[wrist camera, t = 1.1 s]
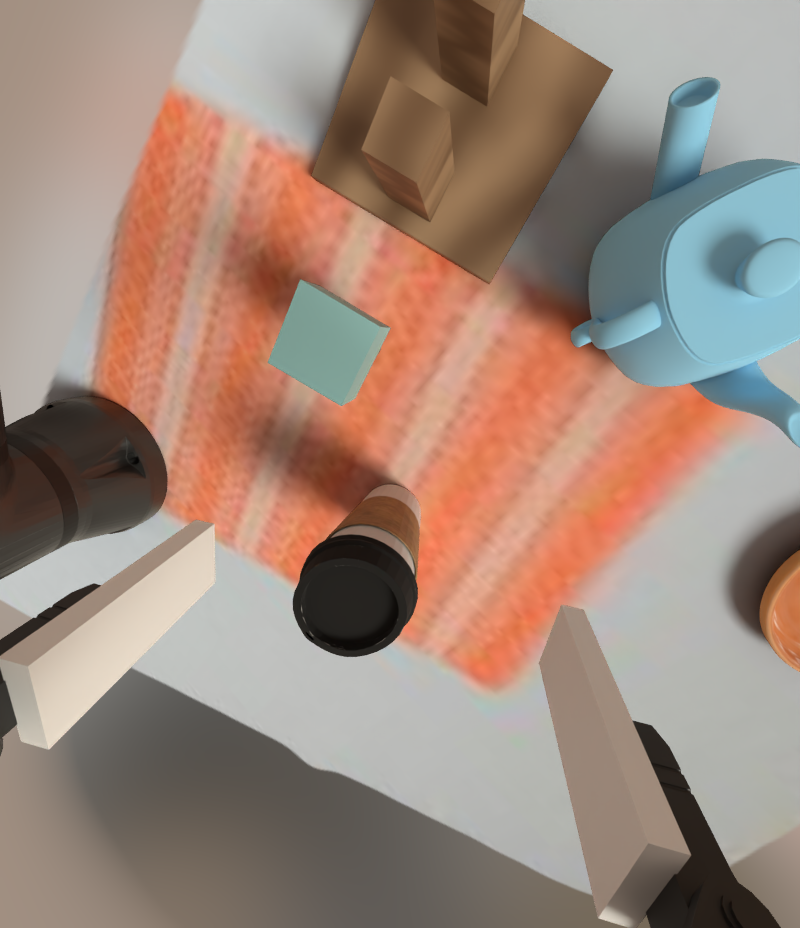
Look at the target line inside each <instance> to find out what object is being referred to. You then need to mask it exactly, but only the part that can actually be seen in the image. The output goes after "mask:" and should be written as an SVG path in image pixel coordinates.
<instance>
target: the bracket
mask: <svg viewBox="0 0 800 928" xmlns="http://www.w3.org/2000/svg"><path fill="white" fill-rule="evenodd" d="M524 3H525V0H375V3H374V5H373V8H372V11H371V14H370V16H369V19H368V22H367V24H366V27H365V30H364V33H363V35H362V38H361V41H360V44H359V46H358V49H357V52H356V55H355V57H354V60H353V63H352V66H351V68H350V71H349V74H348V76H347V79H346V82H345V85H344V87H343V90H342V93H341V96H340V98H339V101H338V104H337V107H336V109H335V112H334V115H333V118H332V120H331V123H330V126H329V129H328V131H327V134H326V137H325V139H324V142H323V145H322V148H321V150H320V153H319V156H318V159H317V161H316V164H315V167H314V170H313V172H312V175H311V176H312V177H313V178H314V179H315V180H316V181H318V182H320V183H321V184H323V185H325V186H326V187H328V188H330V189H331V190H333V191H335V192H336V193H338V194H340V195H341V196H343V197H345V198H346V199H348V200H350V201H351V202H353V203H355V204H356V205H358V206H360V207H361V208H363V209H365V210H366V211H368V212H369V213H371V214H373V215H374V216H376V217H378V218H379V219H381V220H383V221H384V222H386V223H388V224H389V225H391V226H393V227H394V228H396V229H398V230H399V231H401V232H403V233H404V234H406V235H408V236H409V237H411V238H413V239H414V240H416V241H418V242H419V243H421V244H423V245H424V246H426V247H428V248H429V249H431V250H433V251H434V252H436V253H438V254H439V255H441V256H443V257H444V258H446V259H448V260H449V261H451V262H453V263H454V264H456V265H458V266H459V267H461V268H463V269H464V270H466V271H468V272H469V273H471V274H473V275H474V276H476V277H478V278H479V279H481V280H483V281H484V282H486V283H488V284H490V282H491V280H492V279H493V277H494V275H495V274H496V272H497V270H498V268H499V267H500V265H501V263H502V261H503V260H504V258H505V256H506V255H507V253H508V251H509V249H510V248H511V246H512V244H513V242H514V241H515V239H516V237H517V236H518V234H519V232H520V230H521V229H522V227H523V225H524V224H525V222H526V220H527V218H528V217H529V215H530V213H531V211H532V210H533V208H534V206H535V205H536V203H537V201H538V199H539V198H540V196H541V194H542V192H543V191H544V189H545V187H546V186H547V184H548V182H549V180H550V179H551V177H552V175H553V173H554V172H555V170H556V168H557V167H558V165H559V163H560V161H561V160H562V158H563V156H564V155H565V153H566V151H567V149H568V148H569V146H570V144H571V142H572V141H573V139H574V137H575V136H576V134H577V132H578V130H579V129H580V127H581V125H582V123H583V122H584V120H585V118H586V117H587V115H588V113H589V111H590V110H591V108H592V106H593V104H594V103H595V101H596V99H597V98H598V96H599V94H600V92H601V91H602V89H603V87H604V85H605V84H606V82H607V80H608V79H609V77H610V75H611V73H612V71H613V70H612V69H611V68H609V67H607V66H606V65H604V64H602V63H601V62H599V61H598V60H596V59H594V58H593V57H591V56H589V55H588V54H586V53H585V52H583V51H581V50H580V49H578V48H576V47H575V46H573V45H572V44H570V43H568V42H567V41H565V40H563V39H562V38H560V37H559V36H557V35H555V34H554V33H552V32H550V31H549V30H547V29H546V28H544V27H542V26H541V25H539V24H537V23H536V22H534V21H533V20H531V19H529V18H528V17H526V16H524V15H523V9H524Z"/></svg>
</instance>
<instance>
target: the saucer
mask: <svg viewBox="0 0 800 928" xmlns="http://www.w3.org/2000/svg"><path fill="white" fill-rule="evenodd" d="M760 624H761V628H762V631H763V633H764V636H765V638H766V639H767V641H768V642H769V644H770V645H771V647H772V648H773V650H774V651H775V653H776V654H777V655H778V656H779V657H780V658H781V659H782V660H783V661H784V662H785V663H787V664H788V665H789V666H791V667H792V668H794V669H795V670H797V671H799V672H800V550H798V551H797V552H796V553H794V554H793V555H792V556H791V557H789V558H788V559H787V560H786V561H785V562H784V563H783V564H782V565H781V566H780V567H779V568H778V569H777V571H776V572H775V573H774V575H773V576H772V578H771V579H770V581H769V583H768V585H767V587H766V589H765V591H764V594H763V597H762V600H761V604H760Z"/></svg>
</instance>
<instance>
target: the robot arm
mask: <svg viewBox="0 0 800 928" xmlns="http://www.w3.org/2000/svg"><path fill="white" fill-rule="evenodd" d="M166 492H167V472H166V467H165V463H164V460H163V457H162V454H161V452H160V450H159V447H158V446H157V444H156V442H155V440H154V439H153V437H152V436H151V434H150V433H149V432H148V430H147V429H146V428H145V427H144V426H143V424H142V423H141V422H140V421H139V420H138V419H137V418H135V417H134V416H133V415H132V414H131V413H129V412H128V411H127V410H125V409H124V408H122V407H121V406H119V405H117V404H115V403H113V402H111V401H108V400H105V399H102V398H98V397H91V396H82V397H75V398H69V399H63V400H58V401H55V402H52V403H49V404H47V405H45V406H43V407H41V408H40V409H38V410H37V411H36V412H35V413H34V414H31V415H28V416H26V417H24V418H21V419H19V420H17V421H16V422H14V423H12V424H10V425H8V426H6V427H5V422H4V415H3V407H2V400H1V392H0V579H2V578H4V577H6V576H8V575H10V574H12V573H14V572H15V571H17V570H19V569H21V568H23V567H25V566H27V565H28V564H30V563H32V562H34V561H36V560H38V559H40V558H41V557H43V556H45V555H47V554H49V553H51V552H53V551H55V550H57V549H59V548H61V547H62V546H64V545H66V544H68V543H71V542H75V541H79V540H84V539H88V538H92V537H96V536H100V535H104V534H113V533H119V532H123V531H126V530H129V529H132V528H134V527H135V526H137V525H139V524H141V523H143V522H144V521H146V520H148V519H149V518H151V517H152V516H153V515H155V514H156V513H157V512H158V510H159V509H160V507H161V506H162V504H163V502H164V499H165V496H166ZM214 583H215V531H214V524H213V523H208V522H204V521H200V520H195V521H193V522H192V523H190V524H189V525H188V526H186V527H185V528H183V529H182V530H180V531H179V532H177V533H176V534H175V535H173V536H172V537H170V538H169V539H167V540H166V541H165V542H163V543H162V544H160V545H159V546H157V547H156V548H154V549H153V550H152V551H150V552H149V553H147V554H146V555H144V556H143V557H142V558H140V559H139V560H137V561H136V562H134V563H133V564H131V565H130V566H129V567H127V568H126V569H124V570H123V571H121V572H120V573H119V574H117V575H116V576H114V577H113V578H111V579H110V580H108V581H107V582H106V583H104V584H103V585H97V584H91V585H89V586H86V587H84V588H82V589H79V590H77V591H74V592H72V593H70V594H69V595H67V596H66V597H64V598H63V599H61V600H60V601H58V602H57V603H55V604H54V605H53V607H52V608H50V607H49V608H48V609H46V610H45V611H43V612H42V613H40V614H39V615H38V616H37V617H36V618H32V619H31V620H29V621H28V622H26V623H25V624H23V625H22V626H20V627H19V628H17V629H16V630H14V631H13V632H11V633H10V634H8V635H7V636H5V637H4V638H2V639H1V640H0V755H1V752H2V749H3V739H2V737H3V736H4V735H5V734H7V733H8V732H9V731H10V730H11V729H12V728H13V727H15V726H16V725H17V729H18V732H19V735H20V739H21V741H22V742H25V743H28V744H31V745H35V746H38V747H41V748H45V749H48V750H49V749H50V748H51V747H52V746H53V745H54V744H55V743H56V742H57V741H58V740H59V739H60V738H61V737H62V736H63V735H64V734H65V733H66V732H67V731H68V730H69V729H70V728H71V727H72V726H73V725H74V724H75V723H76V722H77V721H78V720H79V719H80V718H81V717H82V716H83V715H84V714H85V713H86V712H87V711H88V710H89V709H90V708H91V707H92V706H93V705H94V704H95V703H96V702H97V701H98V700H99V699H100V698H101V697H102V696H103V695H104V694H105V693H106V692H107V691H108V690H109V689H110V688H111V686H113V685H114V684H115V682H117V681H118V680H119V679H120V678H121V677H122V676H123V675H124V674H125V673H126V672H127V671H128V670H129V669H130V668H131V667H132V666H133V665H134V664H135V663H136V662H137V661H138V660H139V659H140V658H141V657H142V656H143V655H144V654H145V653H146V652H147V651H148V650H149V649H150V648H151V647H152V646H153V645H154V644H155V643H156V642H157V641H158V640H159V639H160V638H161V637H162V635H163V634H164V633H165V632H166V631H167V630H168V629H169V628H170V627H171V626H172V625H173V624H174V623H175V622H176V621H177V620H178V619H179V618H180V617H181V616H182V615H183V614H184V613H185V612H186V611H187V610H188V609H189V608H190V607H191V606H192V605H193V604H194V603H195V602H196V601H197V600H198V599H199V598H200V597H201V596H202V595H203V594H204V593H205V592H206V591H207V590H208V589H209V588H210V587H211V586H212V585H213V584H214ZM539 665H540V669H541V673H542V678H543V682H544V686H545V691H546V695H547V699H548V704H549V708H550V712H551V717H552V721H553V725H554V730H555V734H556V738H557V742H558V747H559V751H560V755H561V760H562V764H563V768H564V773H565V777H566V781H567V786H568V790H569V794H570V799H571V803H572V807H573V812H574V816H575V820H576V825H577V829H578V833H579V838H580V842H581V846H582V850H583V855H584V859H585V863H586V868H587V872H588V876H589V881H590V885H591V889H592V894H593V898H594V902H595V907H596V910H597V915H598V918H599V919H603V920H606V921H609V922H612V923H616V924H619V925H622V926H625V927H629V928H637V927H638V925H639V924H640V923H641V922H642V920H643V919H644V918H645V916H646V915H647V918H648V920H649V924H650V927H651V928H781V927H780V926H779V924H778V923H777V922H776V920H775V919H774V917H773V916H772V914H771V913H770V912H769V910H768V909H767V908H766V907H765V906H764V905H763V904H762V903H761V902H760V901H759V900H758V899H757V898H756V897H755V896H754V894H753V893H752V892H750V891H749V890H748V889H746V888H745V887H743V886H742V885H741V884H739V883H738V882H737V880H736V878H735V877H734V875H733V873H732V871H731V869H730V867H729V865H728V863H727V861H726V859H725V857H724V855H723V853H722V851H721V849H720V847H719V845H718V843H717V841H716V839H715V837H714V835H713V833H712V831H711V829H710V827H709V825H708V823H707V821H706V819H705V817H704V815H703V813H702V811H701V809H700V807H699V805H698V803H697V801H696V799H695V797H694V795H692V794H691V789H690V787H689V785H688V783H687V781H686V779H685V777H684V775H682V774H681V769H680V767H679V765H678V763H677V761H676V759H675V757H674V755H673V753H672V751H671V749H670V747H669V746H668V745H667V744H666V742H665V741H664V740H663V739H662V737H661V736H660V735H659V734H658V733H657V731H656V730H655V729H654V728H653V726H651V725H648V724H644V723H640V722H636V721H632V719H631V717H630V714H629V712H628V710H627V707H626V705H625V703H624V701H623V698H622V696H621V694H620V692H619V689H618V687H617V685H616V682H615V680H614V678H613V676H612V673H611V671H610V669H609V666H608V664H607V662H606V660H605V657H604V655H603V653H602V650H601V648H600V646H599V644H598V641H597V639H596V637H595V634H594V632H593V630H592V628H591V625H590V623H589V621H588V618H587V616H586V614H585V612H584V610H583V609H578V608H574V607H570V606H565V605H561V607H560V610H559V612H558V615H557V617H556V620H555V623H554V625H553V628H552V630H551V633H550V636H549V638H548V641H547V643H546V646H545V649H544V651H543V654H542V656H541V659H540V662H539Z"/></svg>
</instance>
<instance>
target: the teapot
mask: <svg viewBox="0 0 800 928" xmlns="http://www.w3.org/2000/svg"><path fill="white" fill-rule="evenodd" d="M719 89H720V82H719V81H718V80H717V79H715V78H710V77H703V78H697V79H693V80H691V81H688V82H686V83H684V84H682V85H680V86H679V87H677V88H676V89H675V90H674V91H673V92H672V93H671V95H670V97H669V101H668V107H667V112H666V117H665V123H664V128H663V134H662V139H661V144H660V150H659V155H658V161H657V166H656V171H655V177H654V182H653V188H652V193H651V198H650V200H649V201H648V202H646V203H645V204H643V205H642V206H640V207H639V208H637V209H635V210H634V211H632V212H631V213H629V214H628V215H627V216H625V217H624V218H623V219H621V220H620V221H619V222H617V223H616V224H615V225H613V226H612V227H611V228H610V230H609V231H608V232H607V233H606V234H605V235H604V236H603V238H602V239H601V241H600V242H599V243H598V245H597V248H596V250H595V252H594V254H593V258H592V262H591V265H590V272H589V306H590V312H591V317H592V319H591V320H588V321H586V322H584V323H582V324H581V325H579V326H577V327H576V328H574V329H573V330H572V332H571V341H572V343H573V344H574V346H576V347H581V346H583V345H585V344H587V343H590V342H592V343H593V344H594V346H595V347H597V348H599V349H604V350H605V352H606V353H607V355H608V356H609V358H610V359H611V360H612V362H613V363H614V364H615V365H616V367H617V368H618V369H619V370H620V371H621V372H622V373H623V374H624V375H625V376H627V377H628V378H630V379H631V380H633V381H635V382H637V383H640V384H643V385H648V386H655V387H665V386H679V385H683V384H688V383H690V384H691V385H692V386H693V387H694V388H695V389H696V390H697V391H698V392H700V393H701V394H702V395H703V396H704V397H705V398H707V399H708V400H710V401H712V402H713V403H715V404H717V405H720V406H723V407H726V408H730V409H734V410H738V411H743V412H747V413H751V414H755V415H758V416H761V417H763V418H765V419H767V420H769V421H771V422H772V423H774V424H775V425H776V426H778V427H779V428H780V429H781V430H782V431H783V432H784V433H785V434H786V435H787V436H788V438H789V439H790V440H791V441H792V442H793V443H794V444H795V445H797V446H798V447H800V404H799V403H797V402H796V401H795V400H794V399H793V398H791V397H790V396H789V395H787V394H786V393H785V392H783V391H782V390H780V389H779V388H777V387H776V386H775V385H774V384H772V383H771V382H770V381H769V380H768V378H767V377H766V376H765V375H764V373H763V372H762V370H761V369H760V367H759V366H758V363H757V361H758V360H760V359H762V358H764V357H766V356H768V355H770V354H772V353H774V352H776V351H778V350H780V349H782V348H784V347H786V346H787V345H789V344H791V343H793V342H795V341H797V340H799V339H800V164H798V163H794V162H789V161H783V160H774V159H757V160H749V161H743V162H737V163H734V164H731V165H728V166H725V167H722V168H719V169H717V170H714V171H711V172H708V173H705V174H703V175H700V176H699V172H700V168H701V164H702V160H703V156H704V151H705V147H706V143H707V139H708V135H709V131H710V127H711V123H712V118H713V114H714V110H715V106H716V102H717V98H718V94H719Z"/></svg>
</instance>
